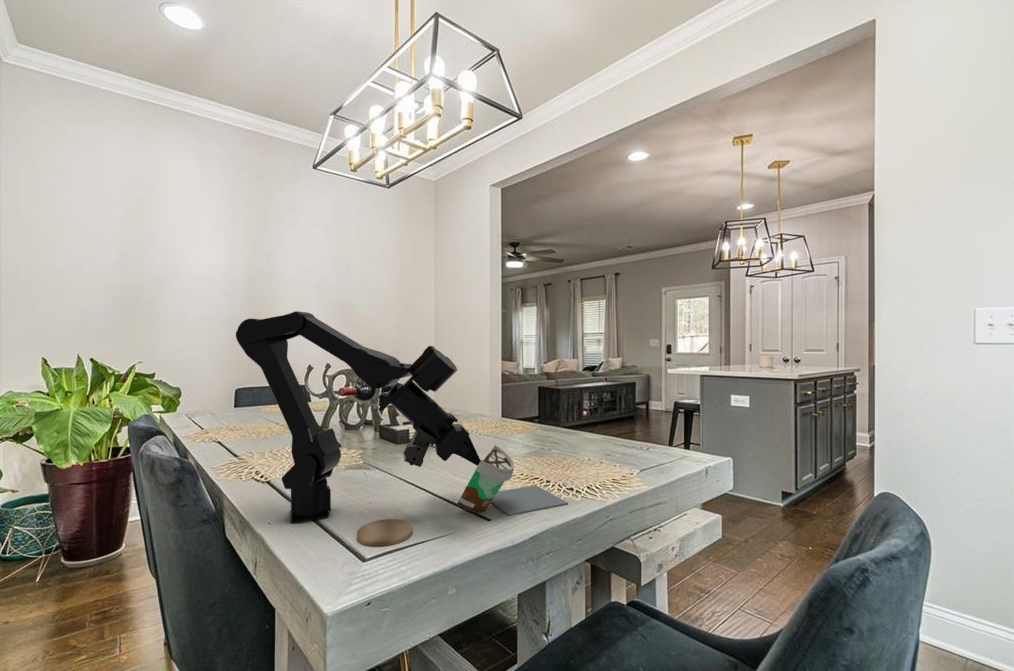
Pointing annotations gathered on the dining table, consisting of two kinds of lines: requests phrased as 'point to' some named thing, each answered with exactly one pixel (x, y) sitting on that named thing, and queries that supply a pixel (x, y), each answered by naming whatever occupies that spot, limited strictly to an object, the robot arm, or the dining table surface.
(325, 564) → the dining table surface
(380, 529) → the walnut coaster
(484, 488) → the food container
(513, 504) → the rubber mat
